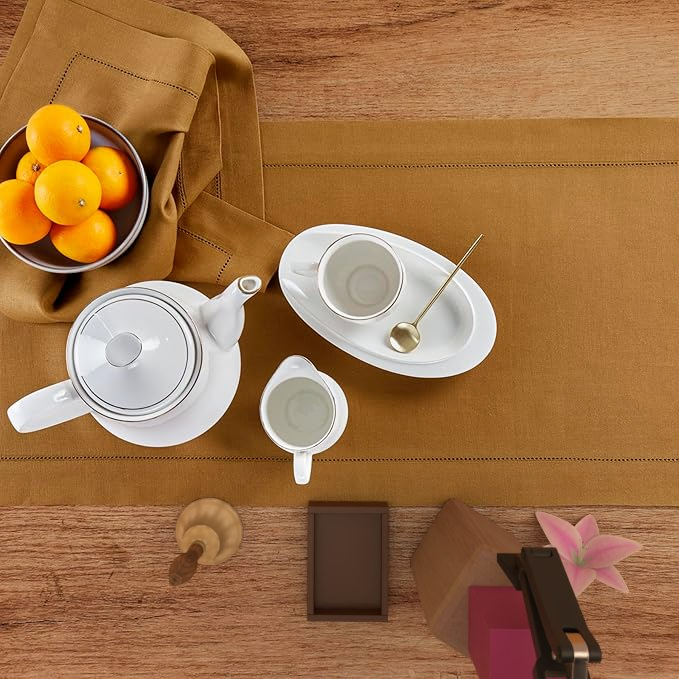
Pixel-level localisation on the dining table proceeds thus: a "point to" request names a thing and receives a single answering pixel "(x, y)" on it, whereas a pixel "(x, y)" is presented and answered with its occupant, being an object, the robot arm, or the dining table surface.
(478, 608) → the pink block
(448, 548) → the wooden block
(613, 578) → the lily
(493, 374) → the dining table surface
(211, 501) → the hand bell
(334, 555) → the tray
